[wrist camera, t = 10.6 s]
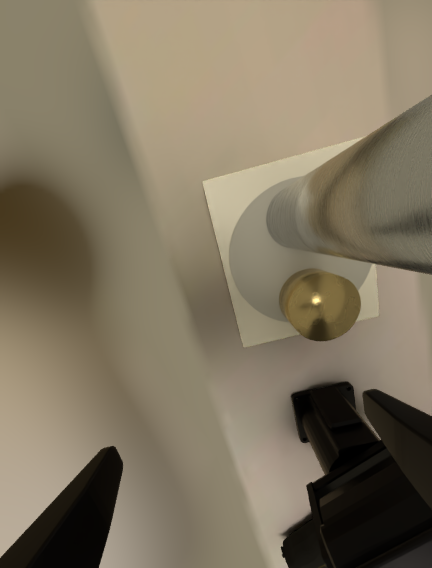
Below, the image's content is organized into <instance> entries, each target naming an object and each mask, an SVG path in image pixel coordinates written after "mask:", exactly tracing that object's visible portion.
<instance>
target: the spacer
mask: <svg viewBox="0 0 432 568" xmlns="http://www.w3.org/2000/svg"><path fill="white" fill-rule="evenodd" d="M266 225H267V229H268V232H269V234H270V235H271V237H272V238H273V239H274V240H275V241H276V242H277V243H278V244H280V245H282V246H284V247H287V248H292V249H298V250H303V251H308V252H314V253H319V254H324V255H330V256H335V257H340V258H346V259H351V260H356V261H361V262H367V263H372V264H377V265H383V266H388V267H393V268H399V269H404V270H409V271H415V272H420V273H425V274H430V275H432V95H430V96H429V97H428V98H426V99H424V100H423V101H421V102H419V103H418V104H416V105H415V106H413V107H412V108H410V109H409V110H407V111H405V112H404V113H402V114H401V115H399V116H397V117H396V118H394V119H393V120H391V121H390V122H388V123H386V124H385V125H383V126H382V127H380V128H379V129H377V130H375V131H374V132H372V133H371V134H369V135H368V136H366V137H364V138H363V139H361V140H360V141H358V142H356V143H355V144H353V145H352V146H350V147H349V148H347V149H345V150H344V151H342V152H341V153H339V154H338V155H336V156H334V157H333V158H331V159H330V160H328V161H327V162H325V163H323V164H322V165H320V166H319V167H317V168H316V169H314V170H312V171H311V172H309V173H308V174H306V175H305V176H303V177H301V178H300V179H298V180H297V181H295V182H294V183H292V184H290V185H289V186H287V187H286V188H284V189H283V190H281V191H280V192H279V193H277V194H276V195H275V197H274V198H273V199H272V201H271V202H270V204H269V207H268V209H267V214H266Z"/></svg>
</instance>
